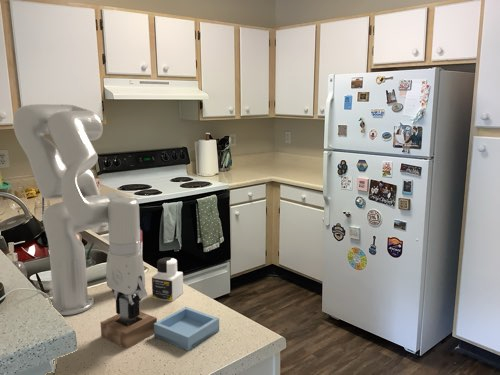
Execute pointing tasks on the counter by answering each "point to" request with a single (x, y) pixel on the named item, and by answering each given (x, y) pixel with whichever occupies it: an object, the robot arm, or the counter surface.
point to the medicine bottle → (167, 280)
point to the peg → (125, 311)
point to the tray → (186, 328)
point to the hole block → (128, 330)
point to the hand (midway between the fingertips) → (127, 313)
